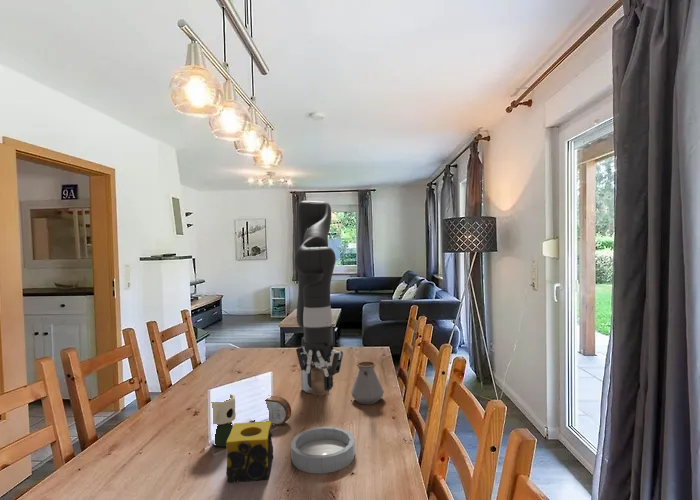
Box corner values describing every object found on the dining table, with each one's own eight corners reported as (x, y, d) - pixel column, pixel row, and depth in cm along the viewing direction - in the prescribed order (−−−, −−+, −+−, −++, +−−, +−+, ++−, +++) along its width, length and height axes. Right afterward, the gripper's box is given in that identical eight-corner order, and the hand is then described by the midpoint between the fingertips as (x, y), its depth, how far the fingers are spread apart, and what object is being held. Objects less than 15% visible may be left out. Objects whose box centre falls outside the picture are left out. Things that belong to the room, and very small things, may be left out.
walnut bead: (308, 393, 104) (307, 369, 104) (318, 387, 108) (317, 365, 108) (322, 396, 101) (321, 372, 101) (332, 390, 105) (331, 367, 105)
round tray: (278, 462, 102) (277, 447, 102) (316, 435, 116) (316, 422, 116) (331, 480, 94) (330, 464, 93) (365, 448, 107) (365, 434, 107)
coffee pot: (352, 394, 147) (351, 353, 147) (383, 393, 146) (382, 353, 146) (348, 419, 126) (346, 372, 126) (385, 419, 125) (383, 371, 125)
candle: (234, 460, 104) (233, 422, 104) (273, 457, 105) (272, 419, 105) (225, 484, 94) (223, 442, 94) (269, 480, 95) (267, 438, 94)
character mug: (229, 453, 108) (227, 405, 108) (203, 453, 108) (201, 405, 108) (242, 434, 119) (240, 390, 118) (218, 434, 119) (217, 391, 119)
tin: (292, 423, 125) (291, 396, 125) (287, 427, 122) (286, 400, 122) (250, 418, 130) (249, 392, 129) (245, 422, 127) (244, 396, 126)
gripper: (287, 324, 105) (290, 388, 105) (332, 327, 98) (335, 397, 98) (305, 319, 112) (307, 380, 112) (348, 322, 104) (351, 388, 104)
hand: (320, 388), depth 105 cm, fingers closed on walnut bead, 4 cm apart
